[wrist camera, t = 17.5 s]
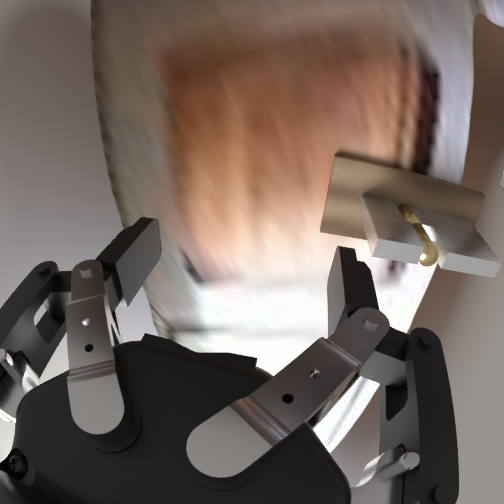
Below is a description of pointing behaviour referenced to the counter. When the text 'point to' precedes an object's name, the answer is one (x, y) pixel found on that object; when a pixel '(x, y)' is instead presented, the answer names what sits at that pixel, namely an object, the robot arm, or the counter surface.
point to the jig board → (389, 194)
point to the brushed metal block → (395, 233)
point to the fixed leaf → (455, 241)
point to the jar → (502, 181)
